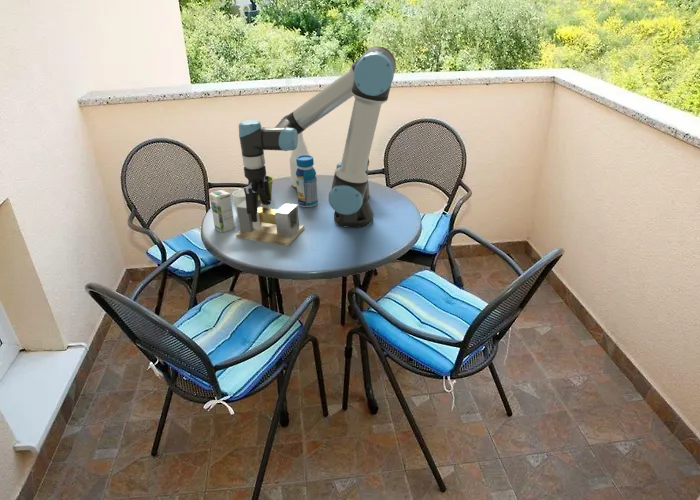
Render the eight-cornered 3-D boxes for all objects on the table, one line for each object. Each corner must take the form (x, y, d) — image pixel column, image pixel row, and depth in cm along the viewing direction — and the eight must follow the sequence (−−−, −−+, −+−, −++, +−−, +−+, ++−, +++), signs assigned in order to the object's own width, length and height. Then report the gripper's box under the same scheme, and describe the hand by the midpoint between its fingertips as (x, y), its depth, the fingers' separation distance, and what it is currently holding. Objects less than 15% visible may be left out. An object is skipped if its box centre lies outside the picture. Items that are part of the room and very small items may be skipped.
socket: (261, 223, 194) (258, 199, 190) (250, 232, 188) (247, 208, 183) (251, 221, 196) (247, 198, 191) (240, 230, 189) (236, 206, 185)
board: (304, 228, 192) (304, 225, 192) (287, 245, 181) (287, 242, 180) (255, 221, 199) (254, 218, 198) (236, 237, 188) (235, 234, 187)
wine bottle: (309, 189, 225) (304, 121, 210) (288, 188, 227) (282, 121, 212) (315, 181, 233) (311, 115, 218) (295, 180, 235) (290, 114, 220)
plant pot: (266, 205, 212) (263, 185, 207) (248, 200, 216) (245, 181, 212) (279, 196, 219) (277, 177, 214) (262, 192, 223) (260, 174, 219)
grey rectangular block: (299, 228, 189) (297, 204, 185) (289, 238, 183) (287, 214, 178) (287, 227, 191) (285, 203, 186) (277, 236, 185) (274, 212, 180)
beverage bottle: (315, 208, 208) (312, 161, 198) (295, 207, 209) (291, 160, 199) (320, 200, 215) (317, 154, 205) (300, 199, 216) (297, 153, 206)
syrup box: (214, 228, 194) (208, 193, 187) (227, 223, 198) (222, 188, 190) (222, 233, 191) (216, 197, 183) (235, 228, 194) (230, 192, 187)
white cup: (251, 220, 199) (248, 197, 194) (232, 219, 201) (229, 196, 196) (258, 212, 206) (255, 189, 201) (240, 211, 207) (237, 188, 202)
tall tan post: (284, 220, 188) (283, 210, 185) (279, 225, 184) (278, 215, 182) (251, 215, 192) (250, 205, 190) (245, 220, 189) (244, 209, 186)
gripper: (258, 155, 187) (265, 212, 199) (230, 174, 172) (239, 234, 183) (276, 157, 185) (282, 215, 196) (249, 176, 169) (257, 237, 181)
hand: (261, 224), depth 190 cm, fingers open, 6 cm apart
